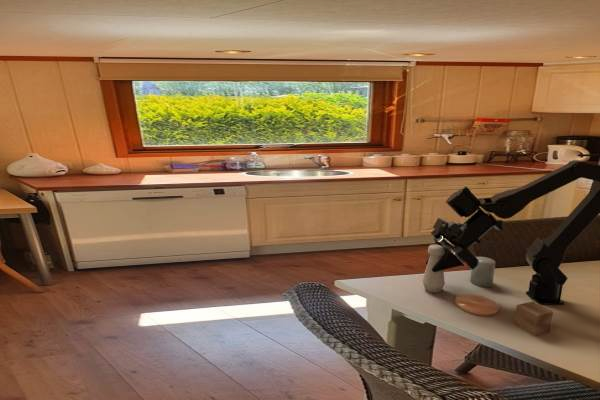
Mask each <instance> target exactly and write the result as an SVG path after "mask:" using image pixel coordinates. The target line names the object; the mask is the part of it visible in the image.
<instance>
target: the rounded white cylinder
mask: <svg viewBox="0 0 600 400" xmlns="http://www.w3.org/2000/svg"><path fill="white" fill-rule="evenodd" d="M475 257H476V258H477V259H478V260H479V263H478V266H477V267H476V268H475V269H473V270H472V269H471V268H470V277H469V282H470V283H471V284H472V285H474V286H477V287H480V288H491V287H493V286H494V285H493V284H494V277H495V268H496V261H495V260H494V259H493V258H489V257H486V256H475Z"/></svg>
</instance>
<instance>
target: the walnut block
mask: <svg viewBox="0 0 600 400" xmlns="http://www.w3.org/2000/svg"><path fill="white" fill-rule="evenodd" d="M515 307H516V309H515V315H514V316H515V317H514V322H513V325H515V326H517V327H518V328H520V329H522V330H523V331H525V332H526V333H529V334H530V335H532V336H539V335H542V334H546V333H550V332H551V329H552V322H553V318H554V317H553V316H554V311H553V310H551V309H549V308H547V307H544V306H542V304H539V303H538V302H536V301H534V300H533V301H528V302H524V303H518V304H516V306H515Z"/></svg>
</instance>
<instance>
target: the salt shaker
mask: <svg viewBox="0 0 600 400" xmlns="http://www.w3.org/2000/svg"><path fill="white" fill-rule="evenodd" d="M427 253H428V254H429V256H430V257H429V256H428V258H429V260H428V259H427V260H428V264H427V265H426V267H425V271H424V274H423V277H422V283H423V286H424V289H425V291H427V292H428V293H432V294H438V293H440V292H441V291H442V289H444V287H445V285H446V283H445V275H444V274H445V273H444V270H442V271H438V272H433V271H432V268H433V267H434V266H435V265H436V264H437V262H438V261H439V260H440V259H441V258H442V256H443V255H444V253H445V249H444V247H443V246H440V245H435V244H430V245H429V246H428V248H427Z"/></svg>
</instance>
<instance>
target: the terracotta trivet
mask: <svg viewBox="0 0 600 400" xmlns="http://www.w3.org/2000/svg"><path fill="white" fill-rule="evenodd" d="M454 302H455V305H456V306H457V308H459V309H460V310H461V311H463V312H466V313H467V314H471V315H476V316H481V317H492V316H495V315H497V314H499V313H498V312H499V309H500V306H499V304H497V302H496V301H494V300H492V299H490V298H489V297H486V296H483V295H478V294H476V293H462V294H459V295H457V296H456V297H455V301H454Z"/></svg>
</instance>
